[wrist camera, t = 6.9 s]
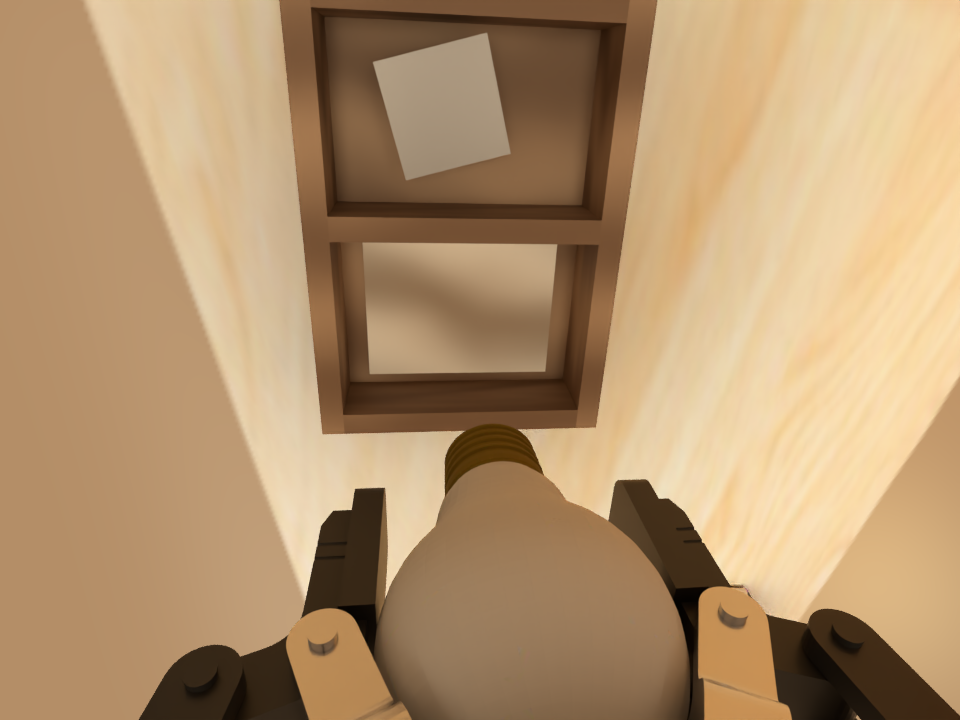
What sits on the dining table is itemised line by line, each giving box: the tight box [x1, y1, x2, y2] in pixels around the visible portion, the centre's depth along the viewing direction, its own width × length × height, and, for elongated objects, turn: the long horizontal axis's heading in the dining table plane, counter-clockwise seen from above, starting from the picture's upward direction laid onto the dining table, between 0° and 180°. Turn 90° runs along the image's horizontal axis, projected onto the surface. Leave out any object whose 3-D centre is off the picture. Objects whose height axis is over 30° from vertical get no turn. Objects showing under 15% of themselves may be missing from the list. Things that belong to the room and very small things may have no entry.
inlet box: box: [279, 0, 657, 434], centre depth 25 cm, size 18×13×4 cm
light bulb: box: [373, 423, 690, 720], centre depth 13 cm, size 6×6×10 cm
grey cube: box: [373, 33, 511, 180], centre depth 22 cm, size 4×4×4 cm
